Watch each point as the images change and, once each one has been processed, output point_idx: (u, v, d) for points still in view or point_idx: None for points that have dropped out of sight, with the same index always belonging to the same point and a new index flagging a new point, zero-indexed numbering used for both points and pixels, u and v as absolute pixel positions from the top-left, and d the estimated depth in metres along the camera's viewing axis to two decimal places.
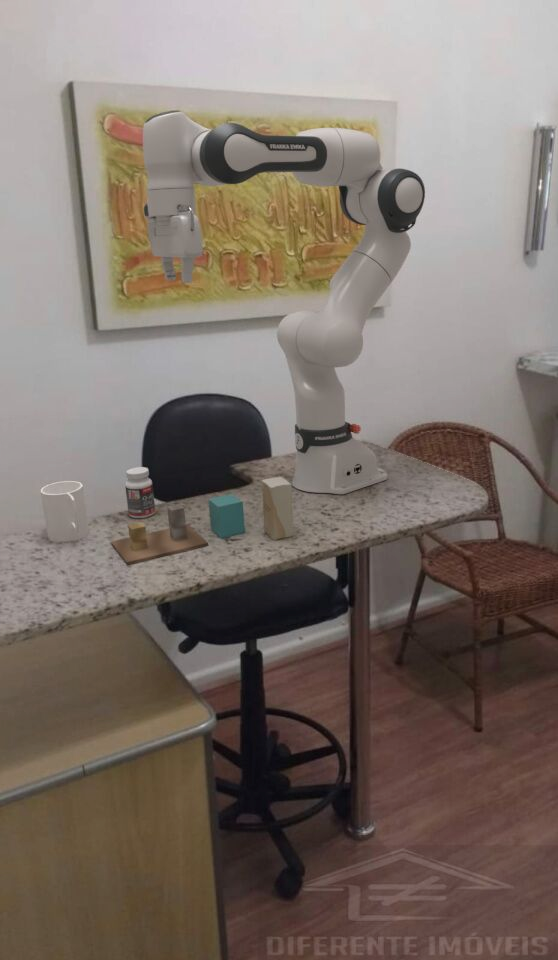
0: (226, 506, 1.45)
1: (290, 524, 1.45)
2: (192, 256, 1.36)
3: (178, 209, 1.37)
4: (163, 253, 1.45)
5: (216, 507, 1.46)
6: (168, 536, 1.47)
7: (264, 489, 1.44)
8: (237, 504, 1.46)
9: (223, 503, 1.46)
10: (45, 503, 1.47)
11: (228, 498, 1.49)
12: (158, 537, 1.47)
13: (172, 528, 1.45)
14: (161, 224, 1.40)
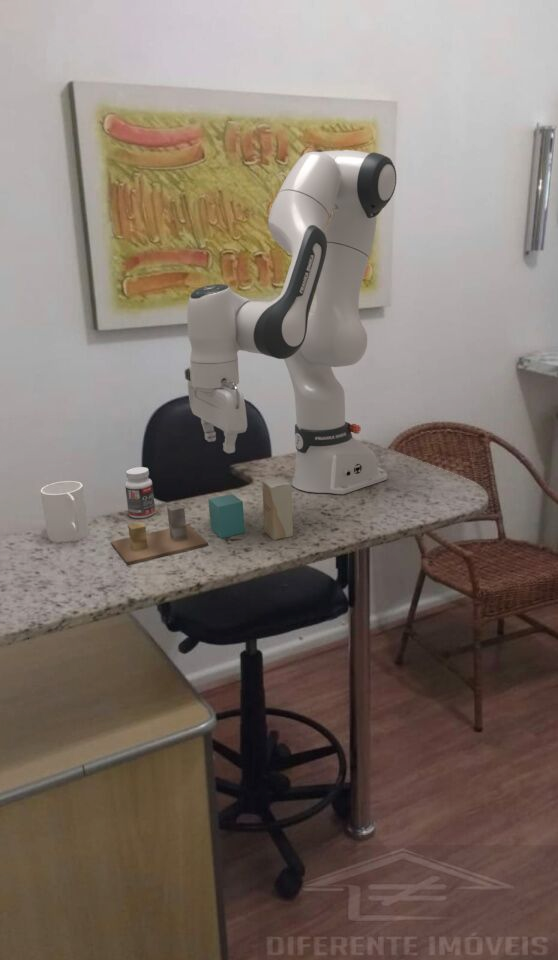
0: (226, 506, 1.45)
1: (290, 524, 1.45)
2: (236, 432, 1.34)
3: (222, 383, 1.35)
4: (204, 418, 1.44)
5: (216, 507, 1.46)
6: (168, 536, 1.47)
7: (264, 489, 1.44)
8: (237, 504, 1.46)
9: (223, 503, 1.46)
10: (45, 503, 1.47)
11: (228, 498, 1.49)
12: (158, 537, 1.47)
13: (172, 528, 1.45)
14: (204, 394, 1.38)
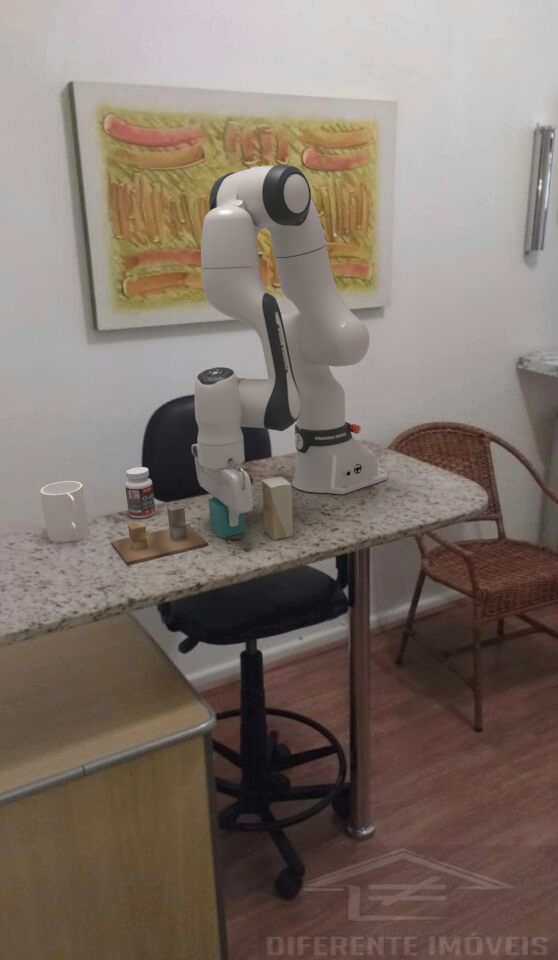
0: (226, 506, 1.45)
1: (290, 524, 1.45)
2: (243, 512, 1.39)
3: (229, 464, 1.40)
4: (211, 493, 1.49)
5: (216, 507, 1.46)
6: (168, 536, 1.47)
7: (264, 489, 1.44)
8: None
9: None
10: (45, 503, 1.47)
11: None
12: (158, 537, 1.47)
13: (172, 528, 1.45)
14: (211, 473, 1.43)
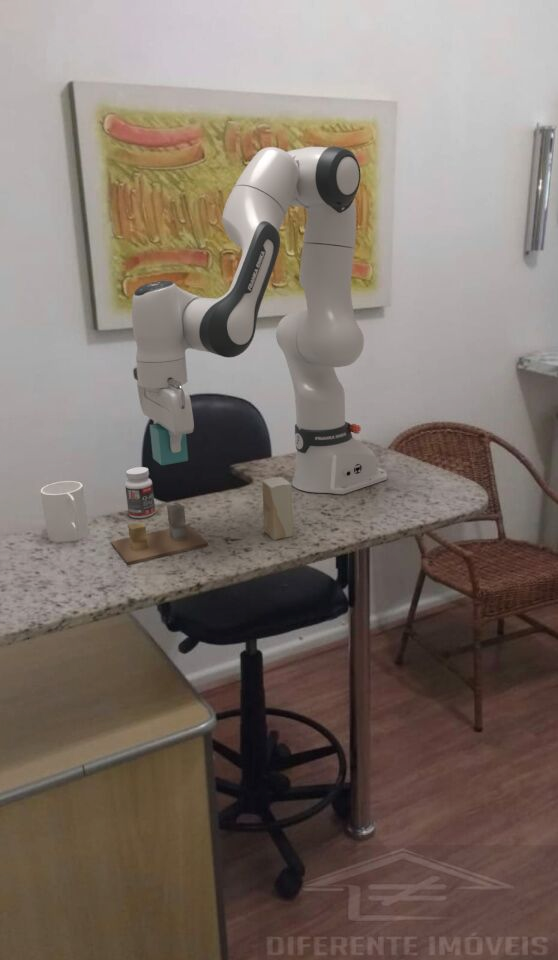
0: (167, 430, 1.36)
1: (290, 524, 1.45)
2: (183, 433, 1.30)
3: (168, 382, 1.32)
4: (153, 418, 1.40)
5: (156, 432, 1.37)
6: (168, 536, 1.47)
7: (264, 489, 1.44)
8: None
9: (164, 428, 1.37)
10: (45, 503, 1.47)
11: None
12: (158, 537, 1.47)
13: (172, 528, 1.45)
14: (151, 394, 1.35)
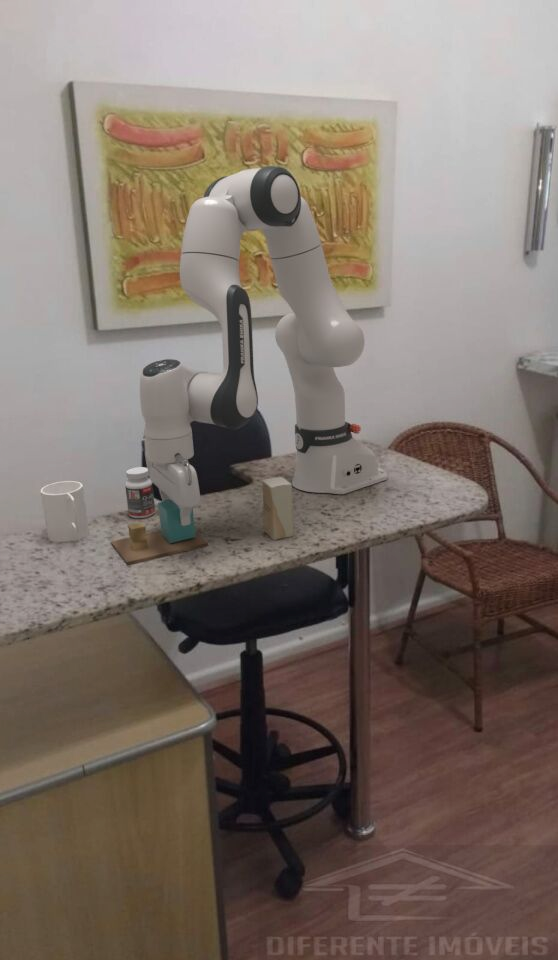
0: (175, 510, 1.42)
1: (290, 524, 1.45)
2: (190, 508, 1.35)
3: (176, 458, 1.36)
4: (161, 488, 1.45)
5: (165, 511, 1.42)
6: None
7: (264, 489, 1.44)
8: None
9: (172, 507, 1.43)
10: (45, 503, 1.47)
11: None
12: (158, 537, 1.47)
13: None
14: (159, 468, 1.39)
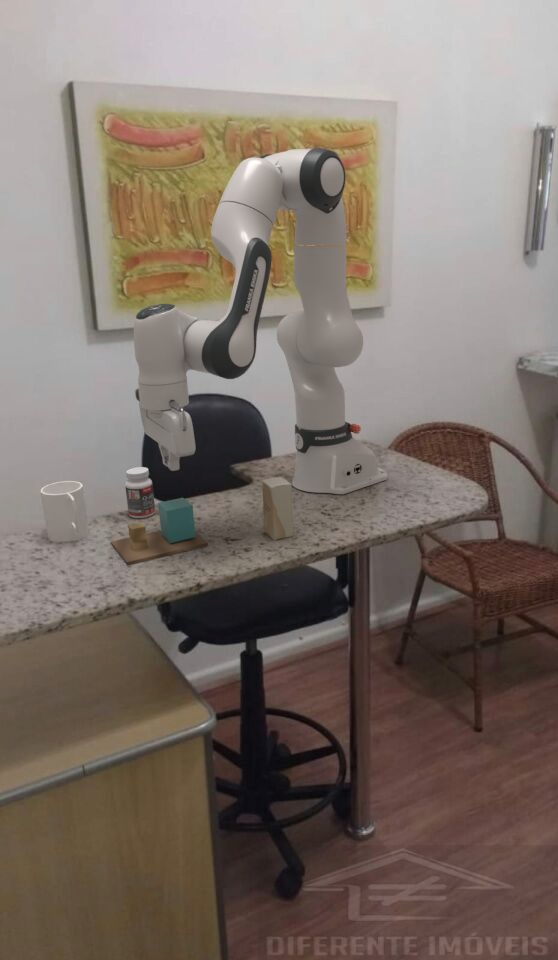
0: (175, 510, 1.42)
1: (290, 524, 1.45)
2: (184, 455, 1.32)
3: (170, 405, 1.33)
4: (155, 439, 1.41)
5: (165, 511, 1.42)
6: None
7: (264, 489, 1.44)
8: (186, 508, 1.43)
9: (172, 507, 1.43)
10: (45, 503, 1.47)
11: (178, 502, 1.45)
12: (158, 537, 1.47)
13: None
14: (153, 416, 1.36)
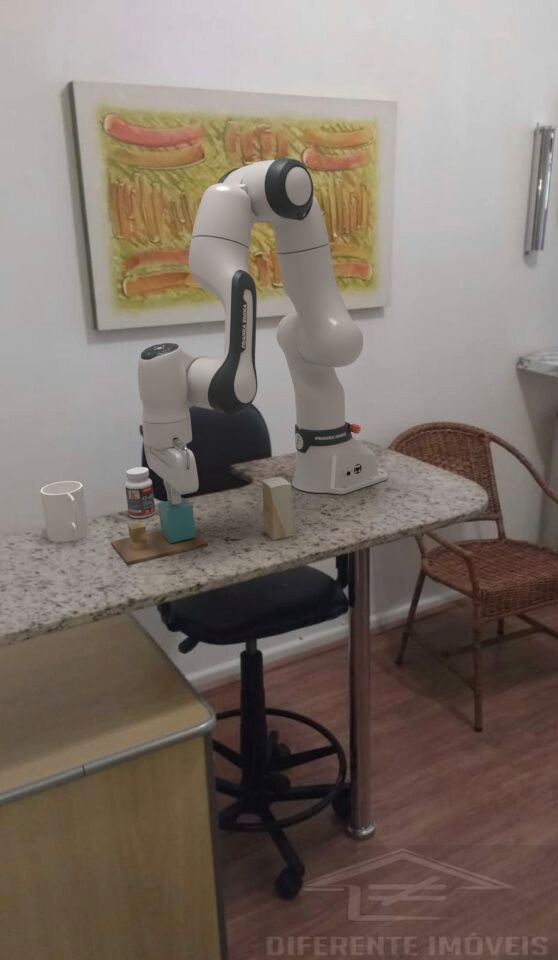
0: (175, 510, 1.42)
1: (290, 524, 1.45)
2: (188, 492, 1.34)
3: (174, 443, 1.35)
4: (159, 474, 1.44)
5: (165, 511, 1.42)
6: None
7: (264, 489, 1.44)
8: (186, 508, 1.43)
9: (172, 507, 1.43)
10: (45, 503, 1.47)
11: None
12: (158, 537, 1.47)
13: None
14: (157, 453, 1.38)
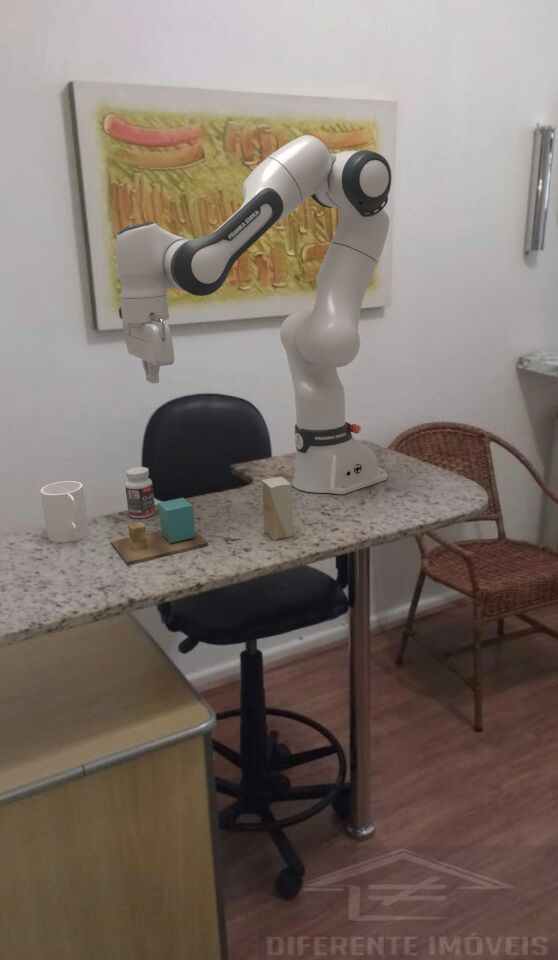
0: (175, 510, 1.42)
1: (290, 524, 1.45)
2: (164, 364, 1.39)
3: (150, 317, 1.40)
4: (137, 354, 1.48)
5: (165, 511, 1.42)
6: None
7: (264, 489, 1.44)
8: (186, 508, 1.43)
9: (172, 507, 1.43)
10: (45, 503, 1.47)
11: (178, 502, 1.45)
12: (158, 537, 1.47)
13: None
14: (134, 330, 1.43)
